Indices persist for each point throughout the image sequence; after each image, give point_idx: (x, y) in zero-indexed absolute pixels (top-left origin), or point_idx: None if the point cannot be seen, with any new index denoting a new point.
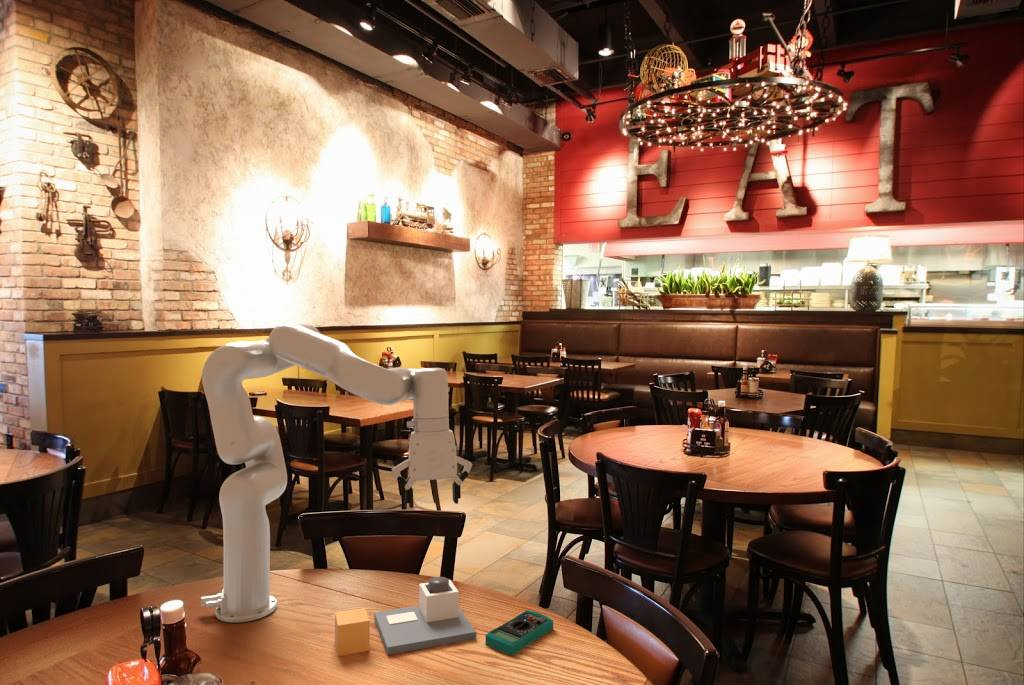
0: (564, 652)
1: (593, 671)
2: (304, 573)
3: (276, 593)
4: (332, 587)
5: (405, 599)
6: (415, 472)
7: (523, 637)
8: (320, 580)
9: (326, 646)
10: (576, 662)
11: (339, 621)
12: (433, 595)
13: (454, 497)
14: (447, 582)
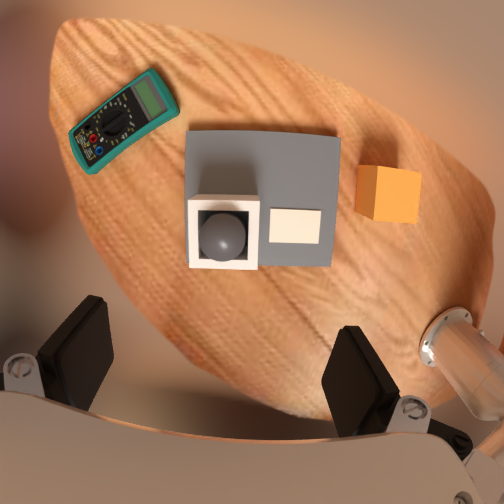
0: (92, 68)
1: (89, 27)
2: None
3: (407, 372)
4: None
5: (261, 313)
6: (449, 482)
7: (126, 85)
8: None
9: None
10: (93, 45)
11: (417, 185)
12: (244, 200)
13: (95, 325)
14: (205, 223)
